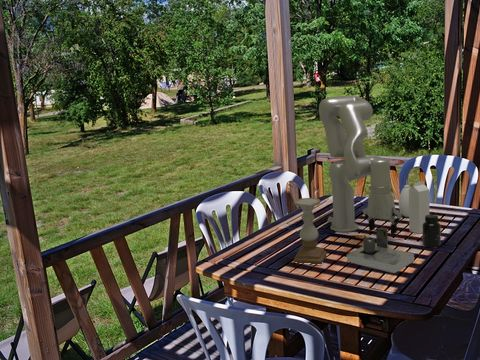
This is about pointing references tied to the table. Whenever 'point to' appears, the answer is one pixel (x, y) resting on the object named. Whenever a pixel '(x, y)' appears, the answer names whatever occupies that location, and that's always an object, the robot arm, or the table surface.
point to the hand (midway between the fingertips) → (382, 231)
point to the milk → (418, 207)
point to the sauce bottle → (404, 201)
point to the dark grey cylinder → (381, 237)
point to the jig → (380, 257)
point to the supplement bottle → (431, 231)
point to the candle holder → (309, 234)
